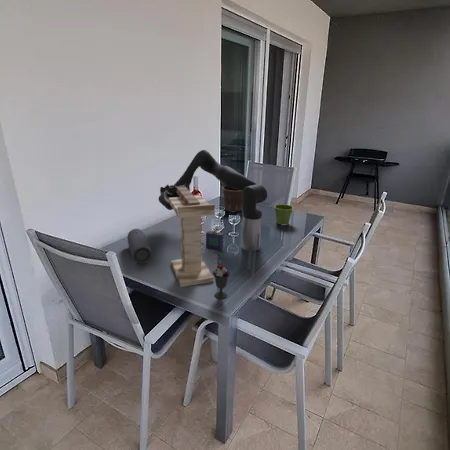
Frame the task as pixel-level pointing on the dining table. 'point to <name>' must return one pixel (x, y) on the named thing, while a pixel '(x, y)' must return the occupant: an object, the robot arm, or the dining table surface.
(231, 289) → the dining table surface
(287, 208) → the plant pot
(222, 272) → the sundae
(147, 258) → the bluetooth speaker
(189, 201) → the walnut plank
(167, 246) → the dining table surface
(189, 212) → the birch stand
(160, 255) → the dining table surface
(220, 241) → the flask
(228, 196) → the plant pot
